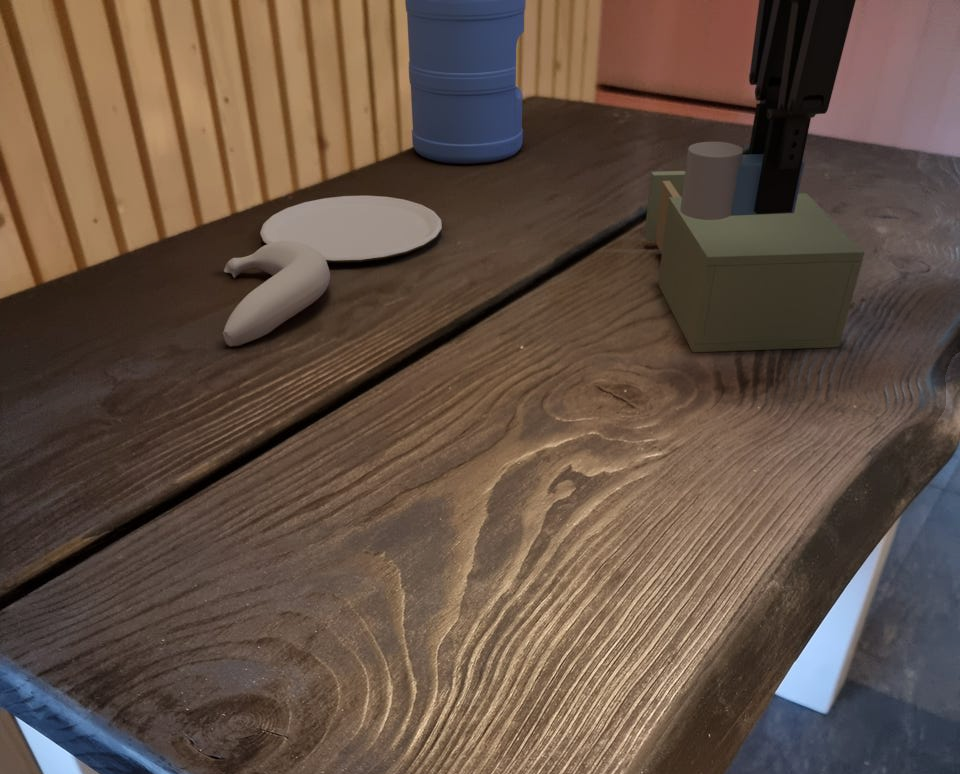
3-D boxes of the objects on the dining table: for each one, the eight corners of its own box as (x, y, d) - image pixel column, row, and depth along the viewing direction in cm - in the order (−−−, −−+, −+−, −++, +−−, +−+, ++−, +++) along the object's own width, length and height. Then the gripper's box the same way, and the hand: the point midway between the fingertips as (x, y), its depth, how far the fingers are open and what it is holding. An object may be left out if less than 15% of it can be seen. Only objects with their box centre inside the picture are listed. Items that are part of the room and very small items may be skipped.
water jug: (463, 173, 123) (458, -93, 104) (390, 149, 132) (373, -101, 113) (545, 150, 131) (554, -102, 112) (471, 128, 140) (468, -109, 121)
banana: (274, 355, 84) (137, 335, 88) (360, 286, 98) (239, 271, 101) (266, 302, 81) (124, 283, 84) (357, 238, 95) (231, 224, 98)
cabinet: (657, 285, 95) (668, 197, 90) (787, 280, 96) (806, 193, 90) (692, 352, 84) (707, 256, 78) (839, 347, 84) (865, 251, 79)
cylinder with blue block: (780, 199, 73) (792, 138, 70) (797, 216, 70) (810, 153, 67) (674, 203, 73) (682, 142, 70) (687, 221, 70) (695, 157, 67)
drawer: (636, 223, 106) (643, 159, 102) (743, 220, 107) (754, 156, 102) (671, 288, 92) (681, 218, 88) (793, 284, 93) (809, 214, 88)
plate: (313, 198, 117) (311, 187, 116) (467, 215, 111) (467, 204, 110) (227, 256, 102) (224, 245, 101) (400, 279, 97) (399, 267, 96)
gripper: (742, -208, 61) (692, 175, 77) (827, -208, 49) (748, 243, 65) (853, -211, 61) (781, 171, 77) (963, -211, 50) (851, 238, 66)
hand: (766, 203), depth 71 cm, fingers closed on cylinder with blue block, 3 cm apart
